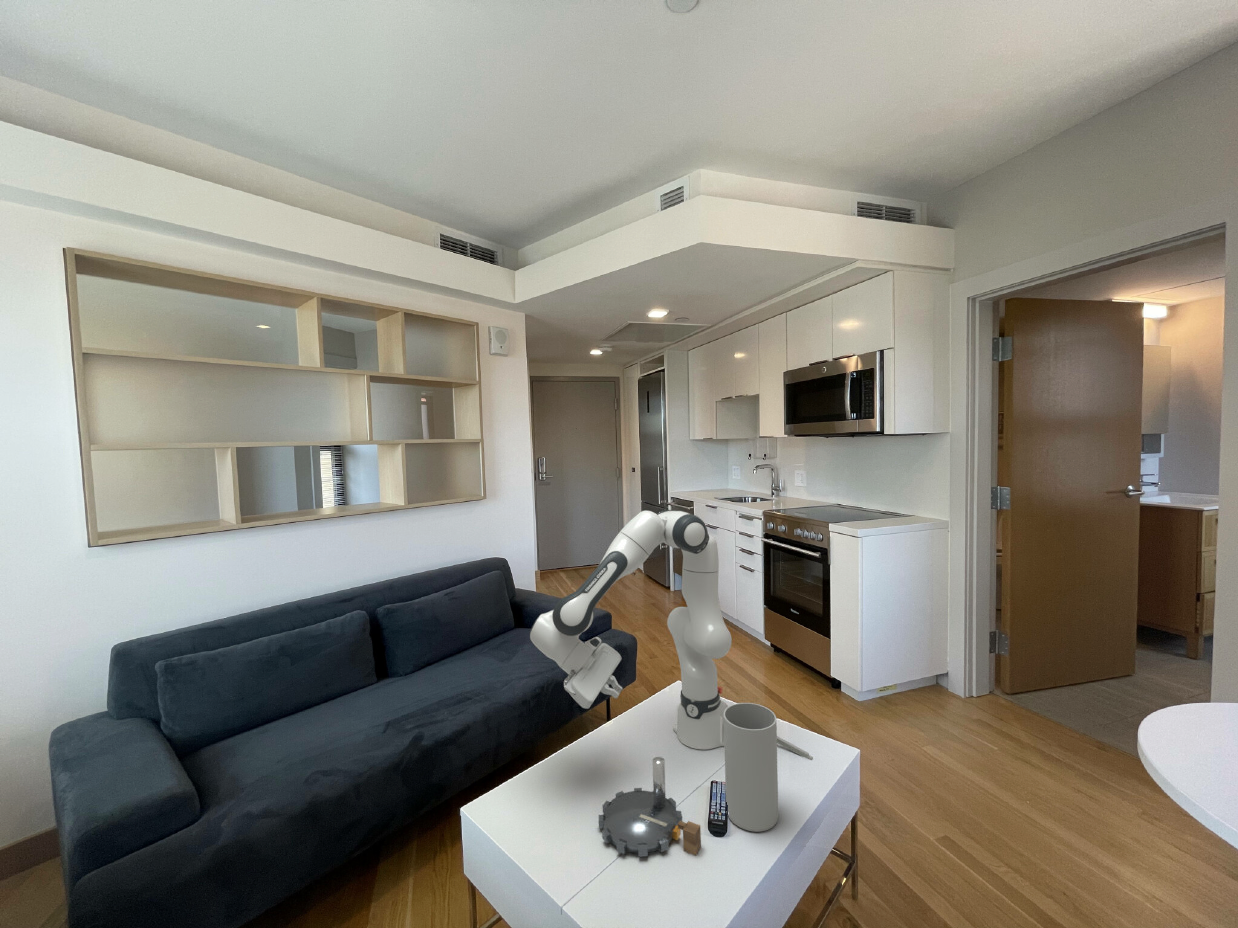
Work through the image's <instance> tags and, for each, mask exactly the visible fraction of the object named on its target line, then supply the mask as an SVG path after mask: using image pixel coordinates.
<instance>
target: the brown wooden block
mask: <svg viewBox="0 0 1238 928" xmlns="http://www.w3.org/2000/svg"><path fill="white" fill-rule="evenodd" d="M678 829H681V831H682V841H683V842H682V844H683V845H682V846H683V847H682V848H683V849H682V850H683V851H684V852H686V853H688V854H691V855H692V856H697V855H698V853H699V851H700V849H701V847H702V836H701V835H702V833H701V825H700V824H697V823H695V822H692V821H690V820H688V821H687V822H685V821H683V820H682V821H679V823H678Z"/></svg>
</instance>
